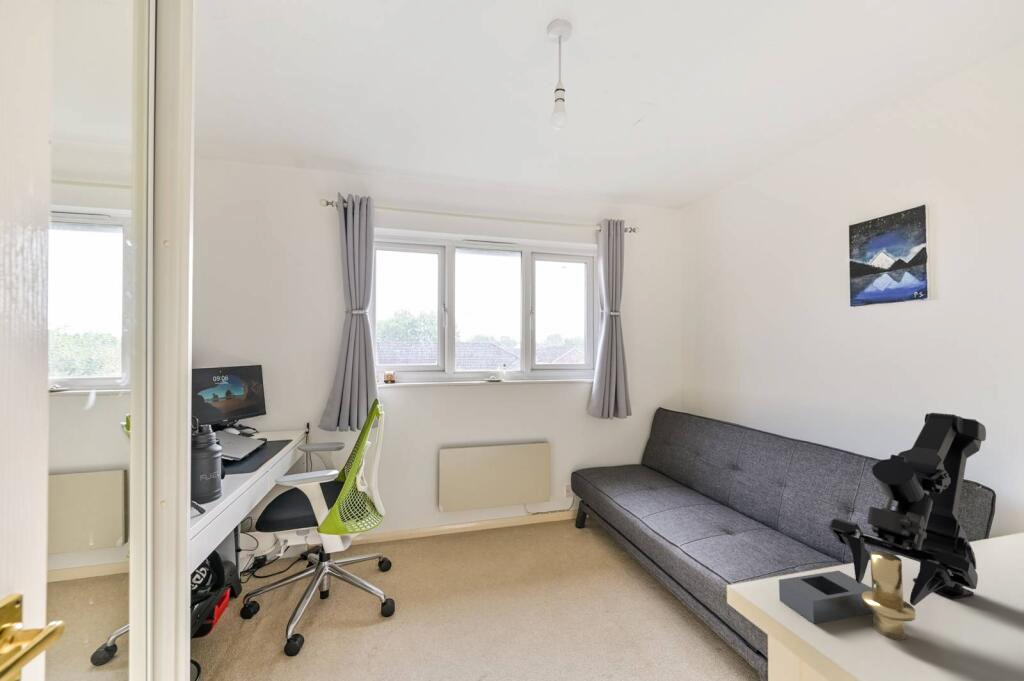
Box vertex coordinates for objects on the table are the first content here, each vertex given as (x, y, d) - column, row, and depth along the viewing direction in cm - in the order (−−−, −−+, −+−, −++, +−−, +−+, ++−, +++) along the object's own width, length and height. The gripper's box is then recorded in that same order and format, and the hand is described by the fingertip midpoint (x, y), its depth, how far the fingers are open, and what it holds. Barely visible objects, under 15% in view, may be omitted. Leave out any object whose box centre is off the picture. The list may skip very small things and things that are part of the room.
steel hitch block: (839, 590, 80) (838, 570, 81) (877, 611, 74) (876, 590, 74) (779, 600, 77) (778, 579, 77) (813, 623, 70) (812, 601, 71)
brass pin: (881, 616, 72) (878, 545, 73) (927, 642, 66) (923, 564, 66) (853, 621, 71) (850, 549, 71) (897, 648, 64) (893, 568, 65)
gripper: (831, 477, 79) (805, 544, 74) (968, 508, 63) (948, 597, 57) (850, 508, 83) (827, 575, 77) (985, 546, 66) (968, 634, 61)
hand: (883, 592), depth 68 cm, fingers open, 7 cm apart
